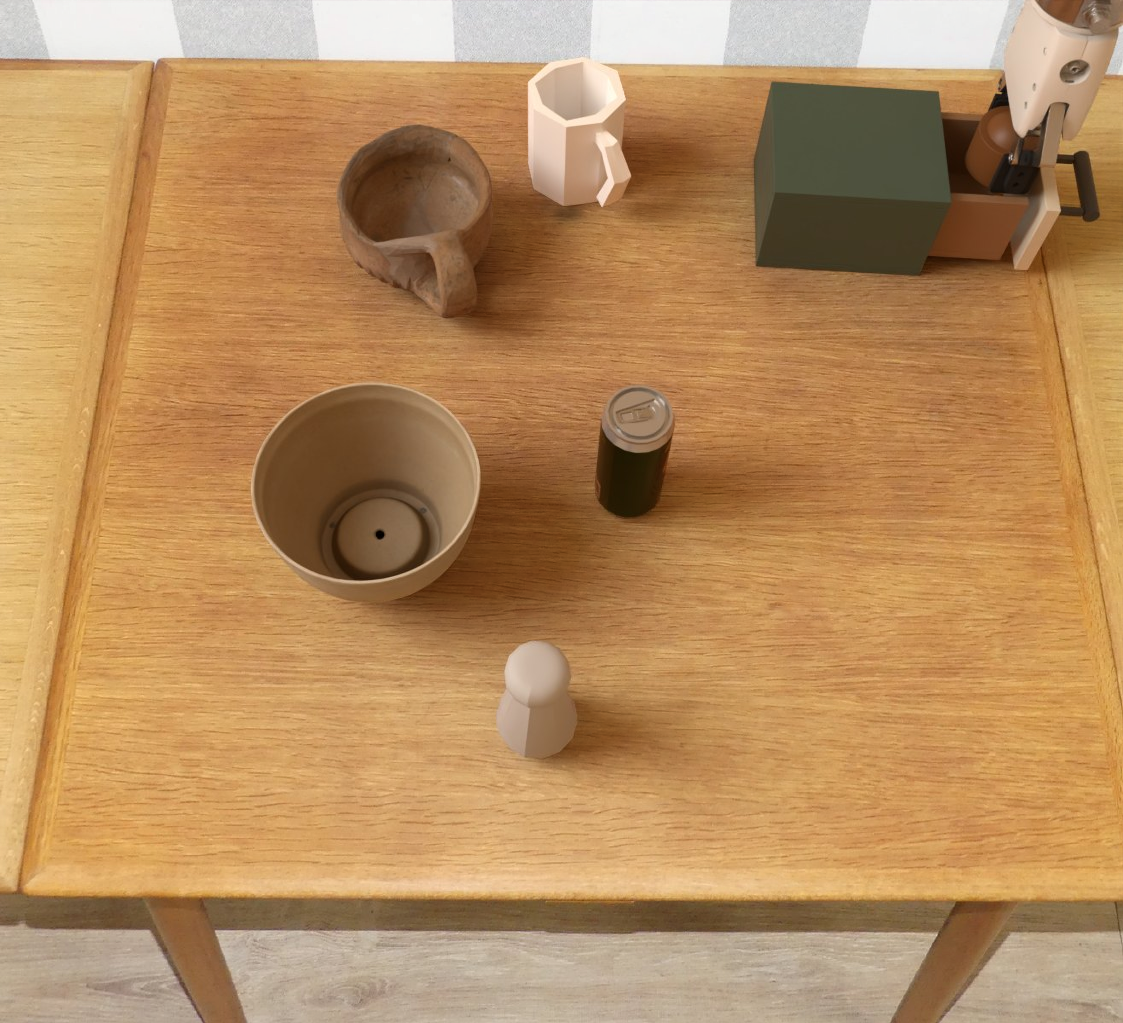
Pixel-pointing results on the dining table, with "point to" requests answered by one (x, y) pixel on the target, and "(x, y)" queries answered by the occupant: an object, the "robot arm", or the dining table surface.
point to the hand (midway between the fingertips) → (1003, 159)
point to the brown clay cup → (419, 214)
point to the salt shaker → (536, 701)
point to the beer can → (633, 450)
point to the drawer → (1003, 204)
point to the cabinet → (849, 178)
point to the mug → (577, 133)
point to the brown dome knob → (993, 144)
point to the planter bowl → (367, 490)
